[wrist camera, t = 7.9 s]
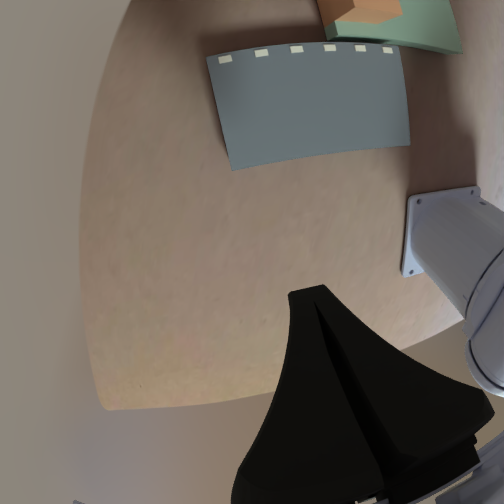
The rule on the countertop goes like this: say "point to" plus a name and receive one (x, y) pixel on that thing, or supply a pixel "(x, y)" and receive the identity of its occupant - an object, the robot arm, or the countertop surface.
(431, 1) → the pale green flat slab
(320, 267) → the countertop surface
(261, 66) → the white-dotted slate slab
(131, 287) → the countertop surface
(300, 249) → the countertop surface
